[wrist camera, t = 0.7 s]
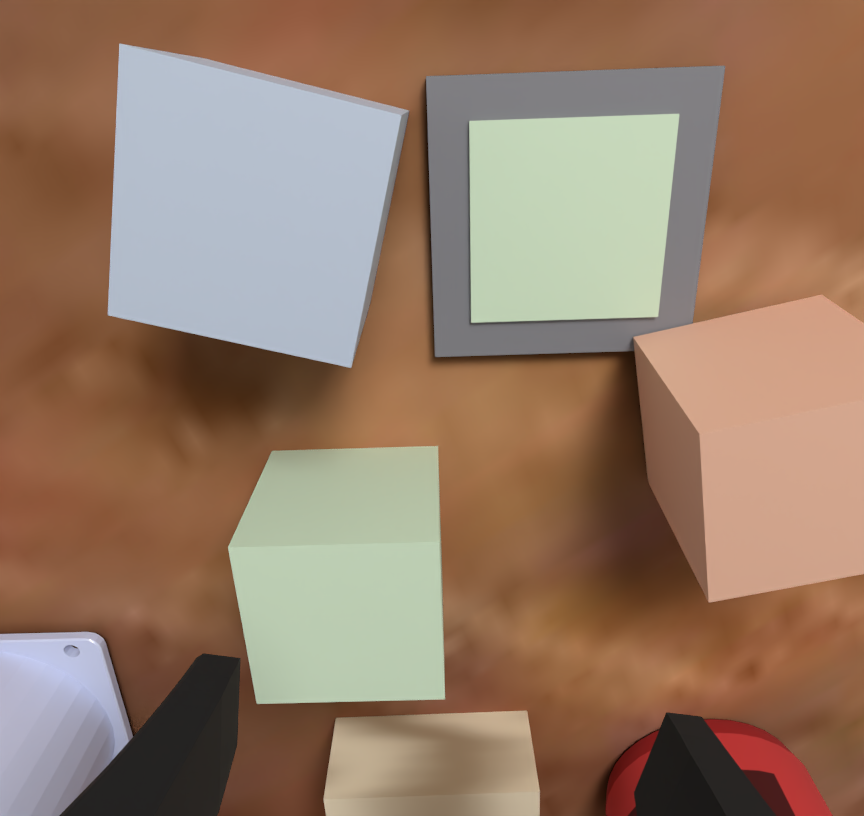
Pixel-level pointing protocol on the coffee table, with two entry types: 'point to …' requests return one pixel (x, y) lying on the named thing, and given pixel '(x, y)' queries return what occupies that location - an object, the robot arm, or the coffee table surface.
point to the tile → (567, 206)
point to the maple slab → (433, 766)
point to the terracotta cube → (759, 444)
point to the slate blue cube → (248, 204)
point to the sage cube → (343, 576)
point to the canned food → (755, 755)
